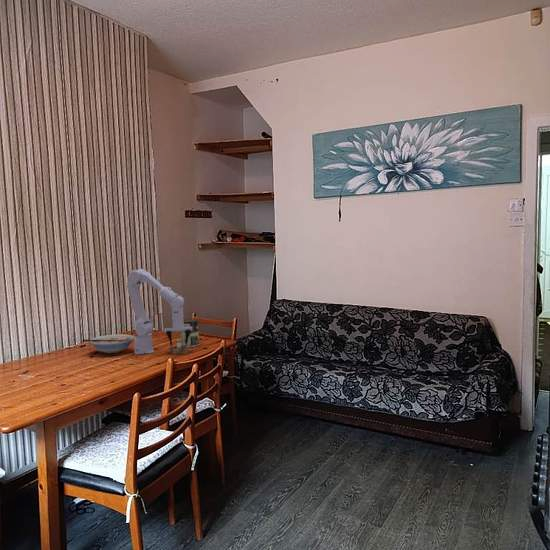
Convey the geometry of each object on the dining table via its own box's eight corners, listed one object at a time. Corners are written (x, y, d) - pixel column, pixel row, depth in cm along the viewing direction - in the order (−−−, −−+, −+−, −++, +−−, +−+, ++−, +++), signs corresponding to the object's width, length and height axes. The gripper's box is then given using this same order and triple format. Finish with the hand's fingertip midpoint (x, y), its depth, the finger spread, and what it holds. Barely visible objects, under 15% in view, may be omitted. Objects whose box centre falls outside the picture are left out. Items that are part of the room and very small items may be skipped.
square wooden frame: (174, 355, 252) (174, 349, 251) (169, 352, 259) (169, 346, 258) (189, 353, 256) (188, 347, 255) (183, 350, 263) (183, 344, 262)
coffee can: (199, 343, 279) (198, 318, 278) (199, 346, 269) (198, 321, 268) (180, 344, 277) (179, 319, 277) (180, 347, 267) (179, 322, 266)
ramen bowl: (143, 347, 272) (142, 332, 271) (126, 357, 249) (125, 341, 249) (100, 347, 274) (99, 332, 274) (79, 357, 252) (78, 341, 251)
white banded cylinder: (176, 353, 256) (176, 340, 255) (176, 352, 258) (176, 339, 257) (181, 353, 256) (181, 340, 255) (181, 352, 258) (181, 339, 258)
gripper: (164, 321, 250) (165, 347, 251) (192, 319, 254) (193, 345, 255) (163, 319, 257) (164, 344, 258) (191, 317, 260) (192, 342, 262)
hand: (178, 345), depth 257 cm, fingers open, 7 cm apart
